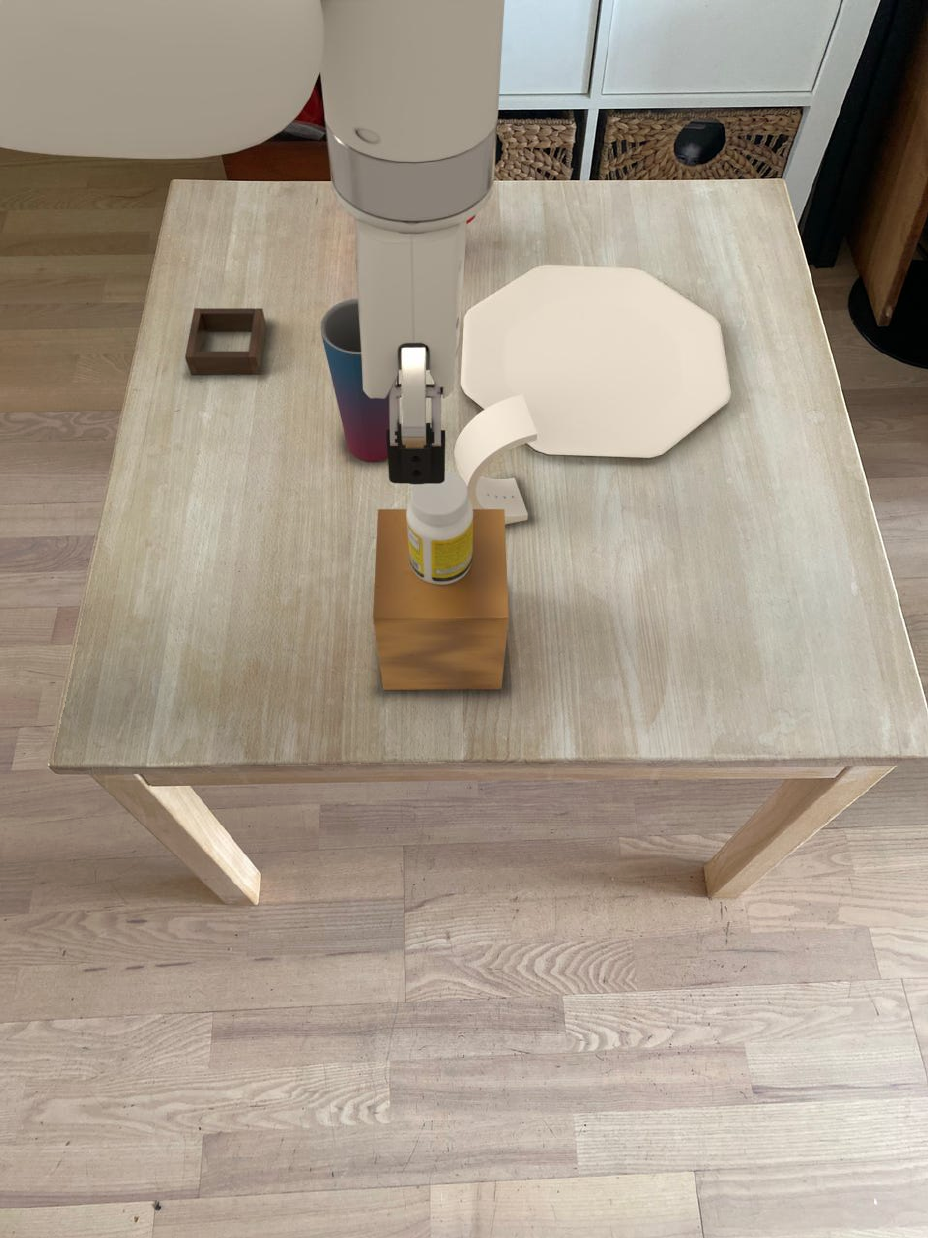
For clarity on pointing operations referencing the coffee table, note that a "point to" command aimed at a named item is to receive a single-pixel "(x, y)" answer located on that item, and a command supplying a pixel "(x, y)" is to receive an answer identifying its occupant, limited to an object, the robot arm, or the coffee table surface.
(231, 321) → the holder
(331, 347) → the cup
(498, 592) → the block
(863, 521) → the coffee table surface
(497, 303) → the plate
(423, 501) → the supplement bottle
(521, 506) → the headphone stand
